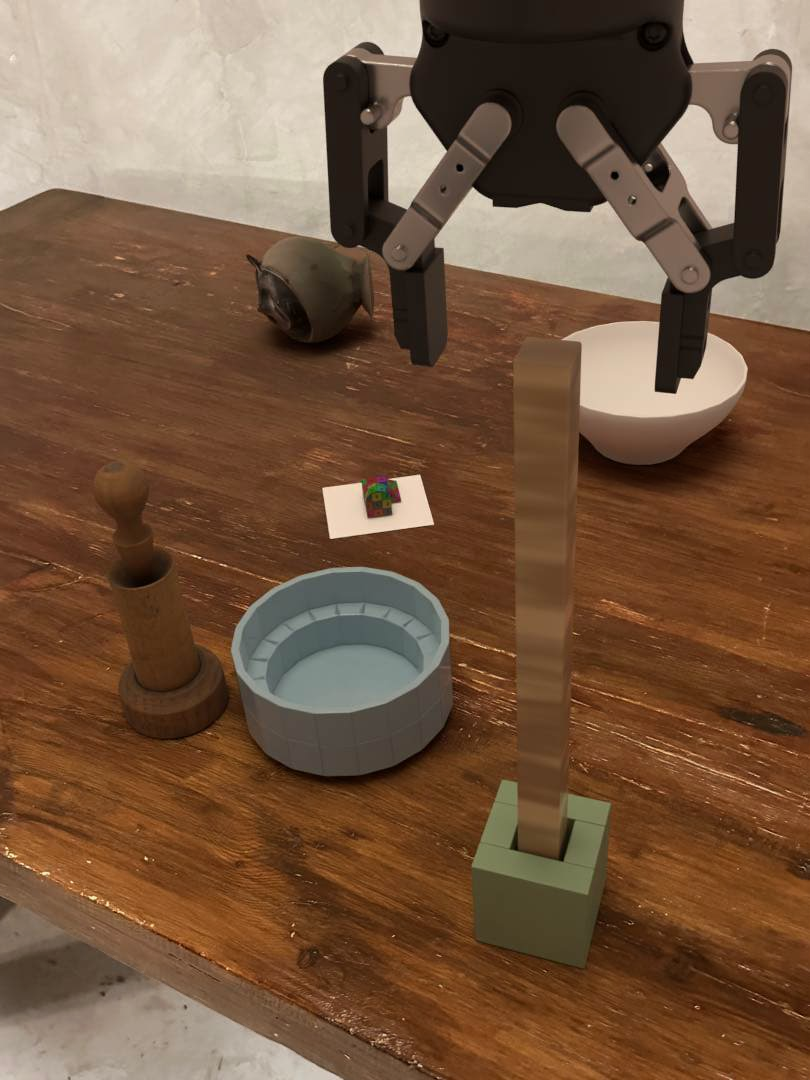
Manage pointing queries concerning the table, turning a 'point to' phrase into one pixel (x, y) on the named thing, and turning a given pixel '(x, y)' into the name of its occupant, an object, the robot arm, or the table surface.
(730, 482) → the table surface
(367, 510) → the white board
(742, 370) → the bowl
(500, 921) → the stick holder
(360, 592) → the light blue round container
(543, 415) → the stick
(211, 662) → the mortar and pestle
